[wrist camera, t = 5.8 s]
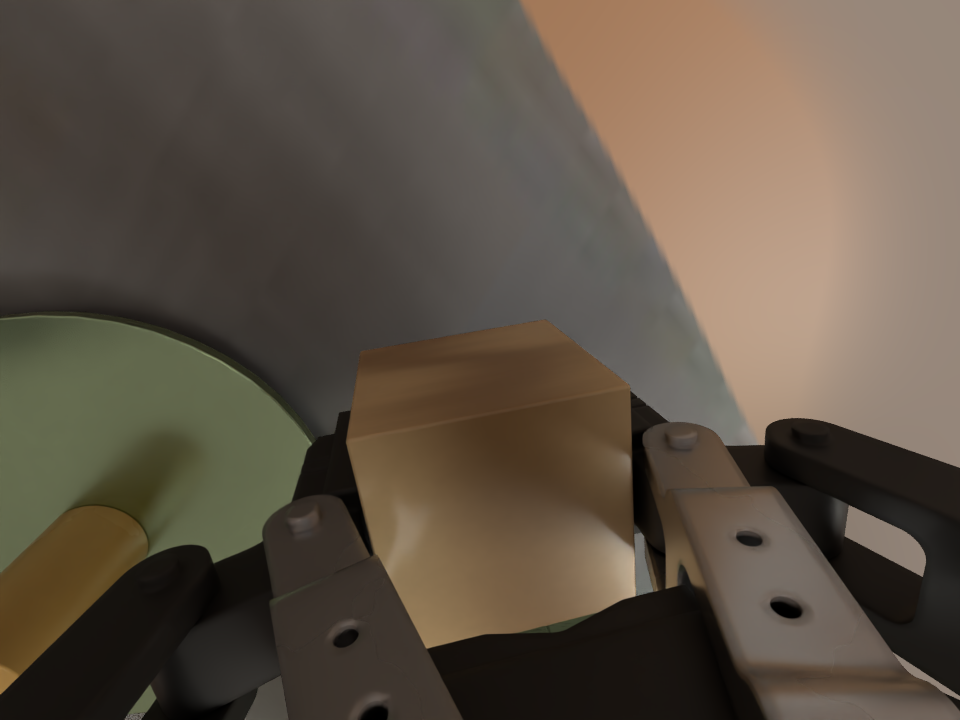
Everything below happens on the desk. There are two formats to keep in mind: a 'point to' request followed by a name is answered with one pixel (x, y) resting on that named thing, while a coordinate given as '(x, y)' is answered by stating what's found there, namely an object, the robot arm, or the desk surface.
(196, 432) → the lid
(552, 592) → the block
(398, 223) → the desk surface
